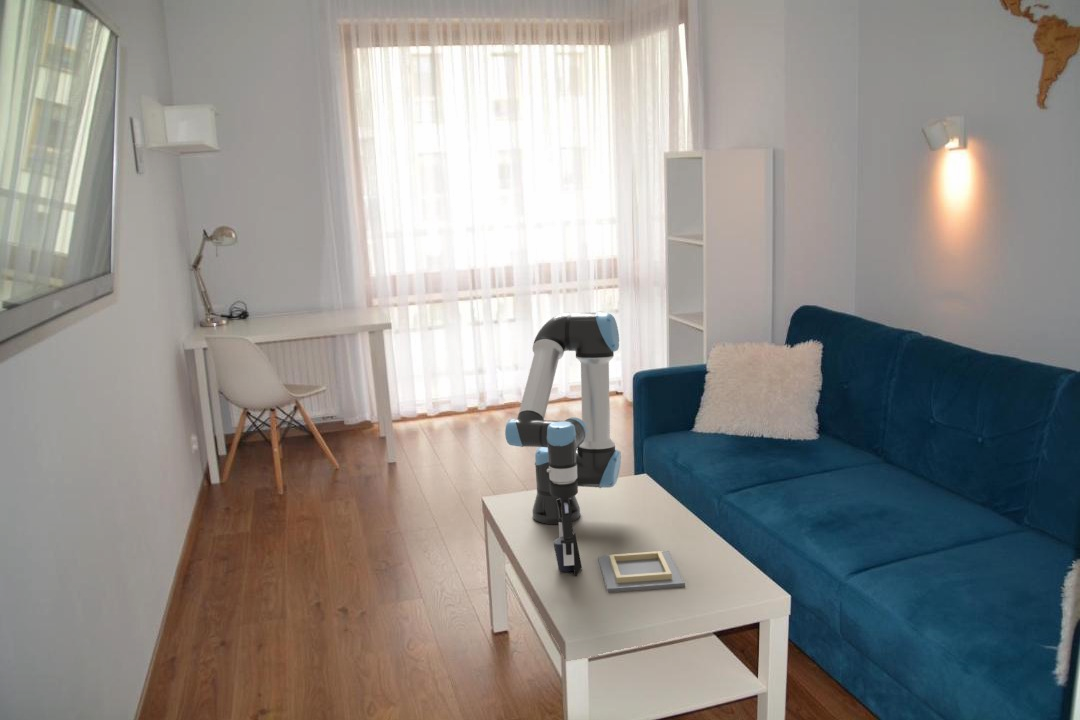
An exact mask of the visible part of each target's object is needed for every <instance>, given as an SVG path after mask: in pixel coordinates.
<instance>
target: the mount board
mask: <svg viewBox="0 0 1080 720" xmlns="http://www.w3.org/2000/svg"><path fill="white" fill-rule="evenodd" d="M597 560H598V564H599V567H600V572H601V574H602V577H603V580H604V585H605V584H606V585H605V587H606V591H607V593H615V592H616V593H617V591H620V592H630V591H631V592H633V591H644V590H646V589H647V590H657V589H658V590H659V589H670V588H671V589H672V588H684V587H686V582H685V580H684V578H683V577H682V574H681V573H680V570H679V569H678V566H677V565H676V563H675V561H674V558H673V556H672V554H671V552H670V551H669V550H667V551H662V550H658V551H657V550H656V551H655V550H654V551H645V552H629V553H628V552H627V553H615V554H609V555H599V556H597ZM632 590H633V591H632ZM647 590H646V591H647Z"/></svg>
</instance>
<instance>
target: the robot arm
mask: <svg viewBox="0 0 1080 720" xmlns="http://www.w3.org/2000/svg"><path fill="white" fill-rule="evenodd" d="M619 349H620V334H619V327H618V323H617V320H616V318H615V317H614V316H613V314H611V313H610V312H609V313H608V312H598V311H597V312H564V313H559V314H557V315H555V316H553V317H551V319H549V320H548V321H547V322H546V323H545V324H544V325H543V326H542V327H541V328H540V330H538V332H537V335H536V336H535V338H534V340H533V344H532V352H533V357H532V361H531V365H530V369H529V372H528V377H527V381H526V383H525V384H526V385H525V388H524V392H523V396H522V400H521V403H520V406H519V410H518V415H517V418H513V419H512V418H511V419H509V420H508V421H507V423H506V424H505V430H504V432H505V433H504V436H505V439H506V442H507V444H508V445H510V446H514V447H520V448H525V447H526V448H529V447H530V448H531V447H532V448H537V450H536V451H535V454H534V456H535V461H534V466H535V479H536V480H535V481H536V483H535V484H536V495H535V500H534V503H533V507H532V519H533V518H534V519H535V520H534V519H533V520H534V521H536V520H537V521H539V522H538V523H540V522H541V524H544V523H545V524H546V525H558V532H559V533H558V535H559V537H558V538H560V537H563V540H561V544H562V543H563V557H564V566H569V565H574V547H573V543H574V539H573V533H574V528H573V527H574V526H573V522H575V521H576V520H578V519H579V518H580V516H581V509H580V508H581V507H580V505H579V502H578V499H577V497H576V495H577V494H578V493H579V487H585V488H599V489H601V488H603V489H604V488H607V489H608V488H613V487H614V486H615V485H616V484H617V481H618V480H619V475H620V470H621V464H622V454H621V453H622V452H621V451H620V450H618V449H616V444H615V442H614V441H613V440H612V439H611V417H610V413H611V412H610V409H611V408H610V407H611V405H610V365H609V363H610V361H611V360H612V359H613V358H614V356H615V355H614V354H615V352H617V351H618V350H619ZM566 351H567V352H570V351H571V352H575V359H577V360H578V361H579V363H580V381H581V382H580V384H581V385H580V387H581V388H580V389H581V390H580V391H581V392H580V393H581V419H580V418H578V417H572V416H571V417H570V418H566V419H565V420H546V419H545V418H546V414H547V409H548V404H549V400H550V395H551V392H552V388H553V384H554V380H555V376H556V371H557V368H558V364H559V360H561V359H562V358H563V357H564V353H565V352H566ZM537 521H536V522H537ZM545 524H544V525H545Z"/></svg>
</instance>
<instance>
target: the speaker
mask: <svg viewBox="0 0 1080 720" xmlns="http://www.w3.org/2000/svg"><path fill="white" fill-rule="evenodd" d="M573 539H574V543H573V547H574V565H569V566H564V557H563V543H562V544H561V540H563V537H560V538H559V537H557V538H555V539H554V540H553V542H552V543H553V548H554V551H555V552H554V553H555V559H556V562H557V568H558V570H559V572H564V573H568V572H572V571H573V573H574V577H578V575H579V573H580V572H581V570H582V569H583V567H582V560H581V555H580V551H579V546H578V541H577V536H576V532H574V531H573ZM581 568H582V569H581ZM579 571H580V572H579Z"/></svg>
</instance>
